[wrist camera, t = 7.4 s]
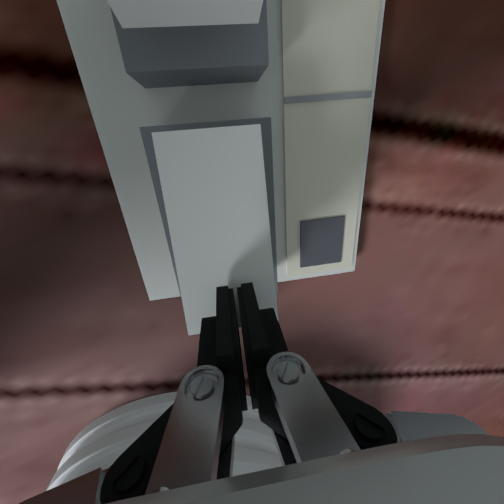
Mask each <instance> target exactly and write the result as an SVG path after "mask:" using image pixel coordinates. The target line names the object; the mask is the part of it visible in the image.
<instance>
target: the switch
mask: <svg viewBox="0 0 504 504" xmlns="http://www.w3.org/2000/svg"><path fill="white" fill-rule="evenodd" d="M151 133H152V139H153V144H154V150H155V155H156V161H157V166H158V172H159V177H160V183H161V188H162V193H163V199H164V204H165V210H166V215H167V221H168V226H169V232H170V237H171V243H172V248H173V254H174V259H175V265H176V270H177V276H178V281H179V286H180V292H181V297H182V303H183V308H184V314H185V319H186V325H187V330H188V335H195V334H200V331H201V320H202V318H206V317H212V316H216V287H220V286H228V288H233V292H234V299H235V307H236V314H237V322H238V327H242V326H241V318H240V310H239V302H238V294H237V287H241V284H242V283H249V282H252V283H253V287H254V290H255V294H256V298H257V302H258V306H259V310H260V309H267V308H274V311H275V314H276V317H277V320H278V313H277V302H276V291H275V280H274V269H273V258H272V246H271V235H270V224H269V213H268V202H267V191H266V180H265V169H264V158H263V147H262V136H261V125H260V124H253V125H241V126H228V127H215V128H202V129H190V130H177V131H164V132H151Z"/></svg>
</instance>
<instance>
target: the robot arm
mask: <svg viewBox="0 0 504 504" xmlns="http://www.w3.org/2000/svg"><path fill="white" fill-rule="evenodd" d="M237 294H238V302H239V310H240V318H241V326H242V334H243V342H244V350H245V357H246V365H247V372H248V380H249V387H250V395H251V403H252V410H253V409H258V413H259V418H260V421H262V422H263V423H264V424H266V425H267V426H268V427H270V428H271V432H272V436H273V439H274V442H275V445H276V448H277V451H278V454H279V457H280V460H281V463H282V466H280V467H276V468H271V469H266V470H261V471H256V472H251V473H247V474H242V475H237V476H232V475H233V461H234V448H235V434H236V433H237V431H238V430H239V428H240V427H241V426H242V424H243V423H242V421H243V413H242V411H247V410H248V408H247V399H246V390H245V381H244V372H243V364H242V355H241V346H240V338H239V330H238V322H237V314H236V307H235V299H234V292H233V288H228V286H220V287H216V316H212V317H206V318H202V320H201V331H200V341H199V352H198V363H197V367H196V368H194V369H192V370H191V371H189V372H188V373H187V374H186V375H185V376H184V378H183V379H182V381H181V383H180V385H179V389H178V392H177V395H176V398H175V401H174V403H173V404H172V405H171V406H170V407H169V408H168V409H167V410H166V411H165V412H164V413H163V414H162V415H161V416H160V417H159V418H158V419H157V420H156V421H155V422H154V423H153V424H152V425H151V426H150V427H149V428H148V429H147V430H146V431H145V432H144V433H143V434H141V435H140V436H139V437H138V438H137V439H136V440H135V441H134V442H133V443H132V444H131V445H130V446H129V447H128V448H127V449H126V450H125V451H124V452H123V453H122V454H121V455H120V456H119V457H118V458H117V459H116V461H115V462H114V463H113V464H112V465H111V466H110V467H109V468H107V469H105V470H102V468H101V467H100V468H98V469H95V470H93V471H91V472H89V473H86V474H84V475H82V476H79V477H77V478H75V479H73V480H70V481H68V482H66V483H63V484H61V485H59V486H57V487H54V488H52V489H50V490H48V491H45V492H43V493H41V494H38V495H36V496H34V497H32V498H29V499H27V500H25V501H23V502H21V503H19V504H504V437H500V436H494V435H488V434H487V433H486V432H485V431H484V430H483V429H482V428H481V427H479V426H478V425H477V424H475V423H474V422H472V421H470V420H468V419H466V418H464V417H461V416H457V415H451V414H435V413H419V412H403V411H390V414H383V413H381V412H380V411H378V410H377V409H375V408H374V407H372V406H370V405H368V404H366V403H364V402H362V401H361V400H359V399H357V398H355V397H353V396H351V395H349V394H347V393H345V392H344V391H342V390H340V389H338V388H336V387H334V386H332V385H330V384H328V383H327V382H325V381H323V380H321V379H319V378H317V377H316V375H315V374H314V372H313V371H312V369H311V367H310V366H309V364H308V362H307V361H306V360H305V359H304V358H303V357H302V356H300V355H299V354H296V353H293V352H288V349H287V346H286V343H285V340H284V337H283V334H282V331H281V328H280V325H279V322H278V320H277V317H276V314H275V311H274V308H267V309H260V310H259V306H258V302H257V298H256V294H255V290H254V287H253V283H252V282H249V283H242V284H241V287H237Z"/></svg>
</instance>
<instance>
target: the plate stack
mask: <svg viewBox="0 0 504 504" xmlns="http://www.w3.org/2000/svg"><path fill="white" fill-rule="evenodd" d="M177 392H178V391H177ZM177 392H170V393H164V394H159V395H154V396H150V397H146V398H143V399H139V400H136V401H133V402H130V403H128V404H125V405H122V406H120V407H118V408H116V409H114V410H111V411H110V412H108V413H106V414H104V415H102V416H101V417H99V418H97V419H96V420H94V421H93V422H91V423H90V424H89V425H88V426H86V427H85V428H84V429H83V430H82V431H81V432H80V433H79V434H78V435H77V436H76V437H75V438H74V439H73V440H72V442H71V443H70V445H69V446H68V448H67V450H66V452H65V454H64V456H63V458H62V460H61V462H60V464H59V466H58V469H57V472H56V474H55V475H54V477H53V478H52V480H51V482H50V484H49V486H48V488H47V490H46V491H48V490H50V489H52V488H54V487H57V486H59V485H61V484H63V483H66V482H68V481H70V480H73V479H75V478H77V477H79V476H82V475H84V474H86V473H89V472H91V471H93V470H95V469H98V468H100V467H101V468H102V470H105V469H107V468H109V467H110V466H111V465H112V464H113V463H114V462H115V461H116V459H117V458H118V457H119V456H120V455H121V454H122V453H123V452H124V451H125V450H126V449H127V448H128V447H129V446H130V445H131V444H132V443H133V442H134V441H135V440H136V439H137V438H138V437H139V436H140V435H141V434H143V433H144V432H145V431H146V430H147V429H148V428H149V427H150V426H151V425H152V424H153V423H154V422H155V421H156V420H157V419H158V418H159V417H160V416H161V415H162V414H163V413H164V412H165V411H166V410H167V409H168V408H169V407H170V406H171V405H172V404H173V403H174V401H175V398H176V395H177ZM246 399H247V408H248V410H247V411H242V413H243V421H242V423H243V424H242V426H241V427H240V428H239V430H238V431H237V433H236V434H235V448H234V461H233V475H232V476H237V475H242V474H247V473H251V472H256V471H261V470H266V469H271V468H276V467H280V466H282V463H281V460H280V457H279V454H278V451H277V448H276V445H275V442H274V439H273V436H272V432H271V428H270V427H268V426H267V425H266V424H264V423H263V422H262V421H260V418H259V413H258V409H253V410H252V403H251V397H250V396H247V395H246Z"/></svg>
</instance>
